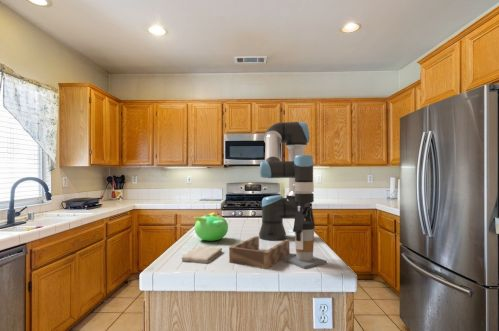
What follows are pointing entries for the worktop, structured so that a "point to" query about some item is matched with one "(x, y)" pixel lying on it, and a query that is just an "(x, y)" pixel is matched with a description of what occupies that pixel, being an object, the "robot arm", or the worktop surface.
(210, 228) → the toy bird
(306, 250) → the coffee cup
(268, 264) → the u-shaped wooden frame
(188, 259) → the washcloth
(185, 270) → the worktop surface
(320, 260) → the coaster
